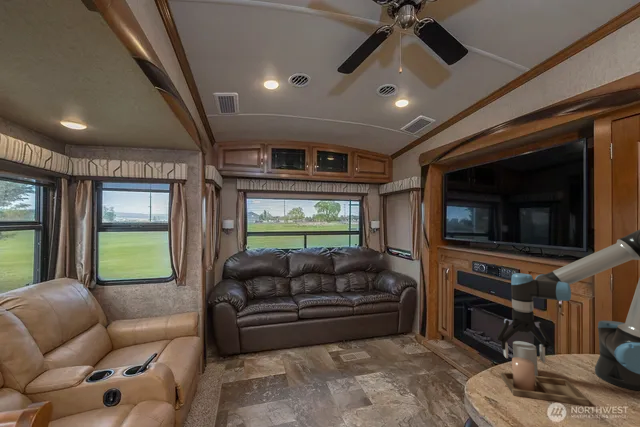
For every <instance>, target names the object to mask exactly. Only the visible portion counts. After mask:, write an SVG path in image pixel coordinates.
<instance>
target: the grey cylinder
mask: <svg viewBox="0 0 640 427" xmlns="http://www.w3.org/2000/svg"><path fill="white" fill-rule="evenodd" d="M537 351H538V349H537V346H536V345H534V344H533V343H529V342H526V341H520V340H515V341H512V353H513V356H512V357H513V358H514V357H521V358H525V359H528V360H530V361H532V362H533V363H534V369H535V376H539V372H538V355H537V354H538V352H537Z"/></svg>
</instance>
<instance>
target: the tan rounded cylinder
mask: <svg viewBox="0 0 640 427" xmlns="http://www.w3.org/2000/svg"><path fill="white" fill-rule="evenodd" d="M511 364H512V366H511V367H512V373H513V386H514V387H515V388H516V389H519V390H527V391H534V392H535V391H536V389H535V369H534V363H533V362H532V361H530V360H528V359H525V358H521V357H514V356H513V357H512V358H511Z"/></svg>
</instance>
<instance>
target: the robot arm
mask: <svg viewBox="0 0 640 427" xmlns="http://www.w3.org/2000/svg"><path fill="white" fill-rule="evenodd" d="M633 260H635V261H640V228H639V229H637V230H635V231H633V232H631V233H629V234H627V235H625V236H623V237H620V238H618V239H617V240H616V243H614V244H611V245H609V246H607V247H604V248H602V249H599V250H598V251H595V252H593V253H591V254H588V255H586V256H585V257H582V258H580V259H577V260H575V261H573V262H570V263H569V264H566V265H564V266H562V267H560V268H557V269H554V270H552V271H550V272H547V273H545V274H544V273H543V274H539V275H536V277H535V278H533V276H532V275H531V274H528V273H523V272H522V273H521V272H515V273H513V274H512V275H511V283H510V284H511V308H512V309H511V318H512V319H508V318H504V319H503V324H502V325H501V327H500V328H499V331H498V332H497V334H496V335H495V338H496V339H497V340H498V341H500V348H501V349H502V350H503V356H504V357H505V358H506V359H509V348H508V347H509V345H508V342H507V341H508V340H510V338H512V337H513V335H514V334H516V333H518V332H520V333H522V332H524V333H531V334H532V335H533V336H534V337H535V338H536V340H537V341H538V342H540V344H539V360H540V361H541V363H543V364H545V363H546V355H548V348H549V347H553V346H554V344H553V342H552V341H551V338H550V337H549V335H548V333H547V332H546V331H545V328H544V323H542V322H540V321H538V320H537V321H534V319H535V315H534V314H535V313H534V298H536V299H543V300H551V301H552V300H553V301H562V302H569V301H571V300H572V289H571V288H572V287H571V286H570V285H573V284H576V283H578V282H580V281H582V280H585V279H588V278H589V277H592V276H594V275H598V274H600V273H602V272H605V271H607V270H610V269H612V268H614V267H619V265H623V264H624V263H627V262H629V261H630V262H631V261H633ZM510 325H512V326H510ZM509 326H510V328H509ZM534 327H536V328H538V329H537V330H539V332H540V333H541V336H542V337H543V338H544V339H543V338H542V337H541V336H540V335H539V334H538V333H537V332H536V331H535V329H534ZM507 330H508V331H507ZM597 332H598V346H599V347H598V348H599V357H598V359H597V361H596V364H595V366H594V374H595V375H596V376H597V377H598V378H599V379H601V380H603V381H605V382H607V383H609V384H611V385H614V386H616V387H620V388H624V389H628V390H633V391H640V277H639V278H638V282H637V284H636V288H635V291H634V295H633V298H632V301H631V303H630V306H629V310H628V313H627V316H626V319H625V322H621V321H616V320H615V321H614V320H599V321H598V323H597Z"/></svg>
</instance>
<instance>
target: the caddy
mask: <svg viewBox="0 0 640 427" xmlns="http://www.w3.org/2000/svg"><path fill="white" fill-rule="evenodd" d="M500 378H501V379H502V381H503V383H505V385H506V387H507V388H508V390H509V391H510V393H511V395H512V396H516V397H522V398H529V399H530V398H531V399H536V400H544V401H551V402H558V403H564V404H571V405H579V406H588V407H590V400H589V399H588V398H587V397H586V396H585V395H584V394H583V393H582V392H580V391H579V389H578V388H576V387H575V386H574V384H572V383H571V382H570V381H569V380H568V379H566V378H565V379H564V378H559V377H558V378H557V377H549V376H542V375H541V376H540V375H538V376H535V389H536V391H535V392H534V391H527V390H519V389H516V388H515V387H514V386H513V372H507V371H500Z"/></svg>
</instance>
